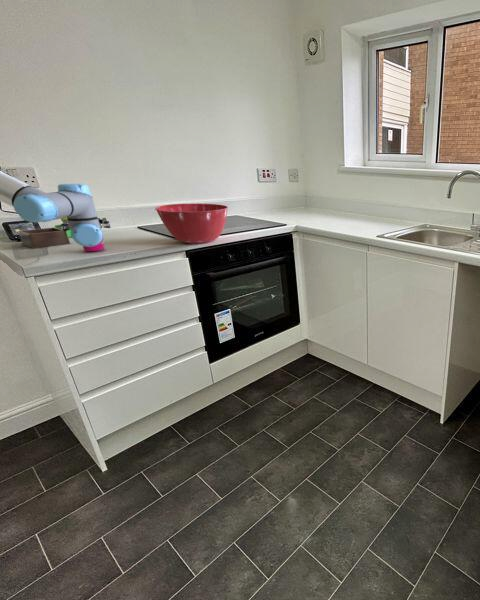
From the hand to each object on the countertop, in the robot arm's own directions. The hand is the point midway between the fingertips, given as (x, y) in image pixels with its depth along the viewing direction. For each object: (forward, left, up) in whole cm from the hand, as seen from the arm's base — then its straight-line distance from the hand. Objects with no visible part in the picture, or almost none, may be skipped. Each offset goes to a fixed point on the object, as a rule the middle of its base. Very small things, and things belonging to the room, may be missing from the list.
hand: (86, 219), depth 139 cm
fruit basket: (+6, +35, -12) cm, 38 cm away
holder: (-8, +23, -12) cm, 27 cm away
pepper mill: (-2, -5, -11) cm, 12 cm away
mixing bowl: (+33, -18, -12) cm, 40 cm away
